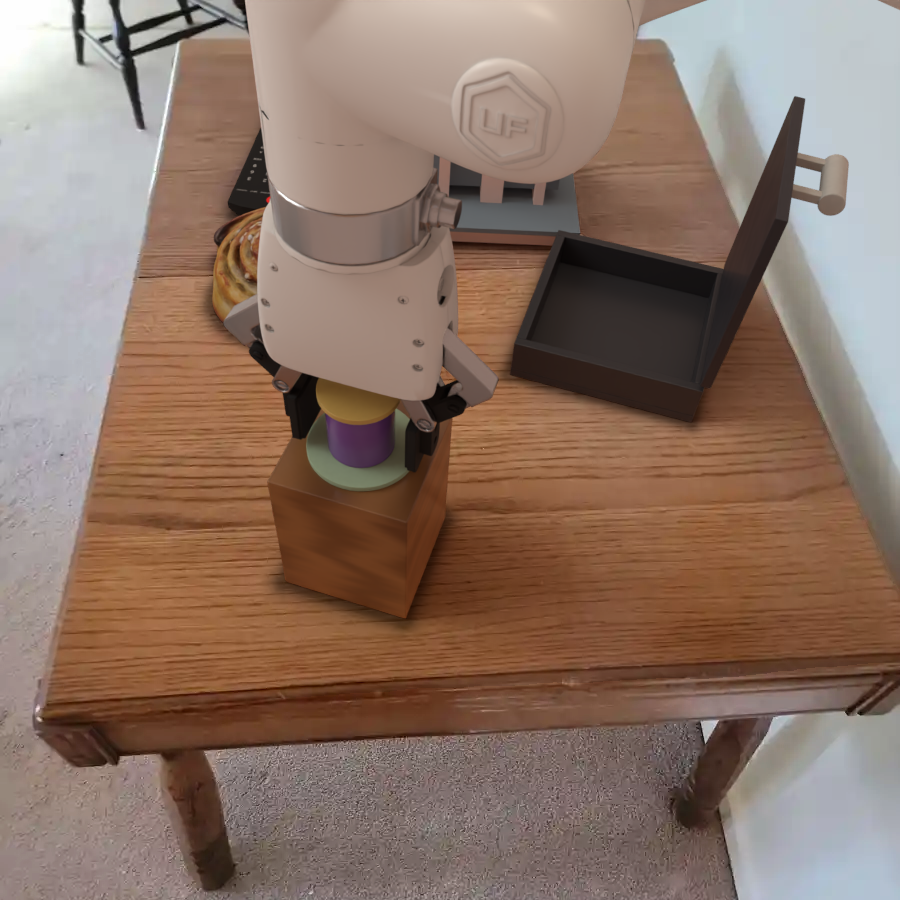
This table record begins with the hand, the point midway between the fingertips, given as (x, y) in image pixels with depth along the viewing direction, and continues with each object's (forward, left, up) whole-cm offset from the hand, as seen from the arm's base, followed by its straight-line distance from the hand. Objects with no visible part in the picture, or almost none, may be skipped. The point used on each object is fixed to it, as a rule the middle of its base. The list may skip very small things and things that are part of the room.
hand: (362, 436), depth 57 cm
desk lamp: (+3, -42, -13) cm, 44 cm away
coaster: (0, 0, -1) cm, 1 cm away
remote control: (+26, -43, -13) cm, 52 cm away
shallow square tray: (-13, -28, -13) cm, 33 cm away
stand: (0, 0, -13) cm, 13 cm away
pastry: (+17, -24, -13) cm, 32 cm away
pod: (0, 0, -1) cm, 1 cm away
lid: (-21, -28, 0) cm, 35 cm away
